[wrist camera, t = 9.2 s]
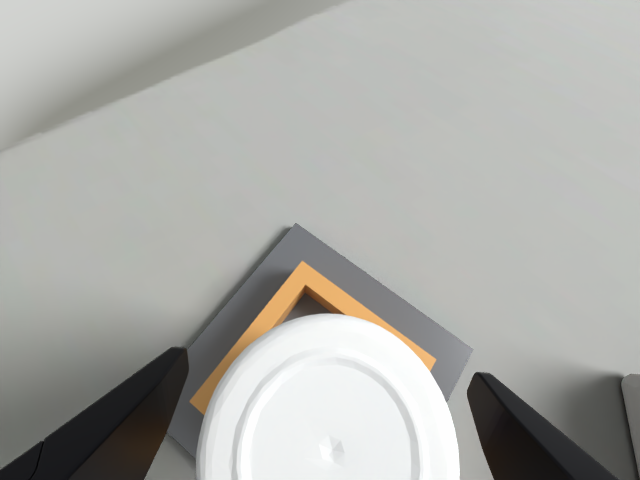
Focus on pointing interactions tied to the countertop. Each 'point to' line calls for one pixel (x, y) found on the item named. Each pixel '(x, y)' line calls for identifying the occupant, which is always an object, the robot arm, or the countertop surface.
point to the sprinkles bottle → (327, 409)
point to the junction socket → (297, 301)
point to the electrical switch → (633, 410)
